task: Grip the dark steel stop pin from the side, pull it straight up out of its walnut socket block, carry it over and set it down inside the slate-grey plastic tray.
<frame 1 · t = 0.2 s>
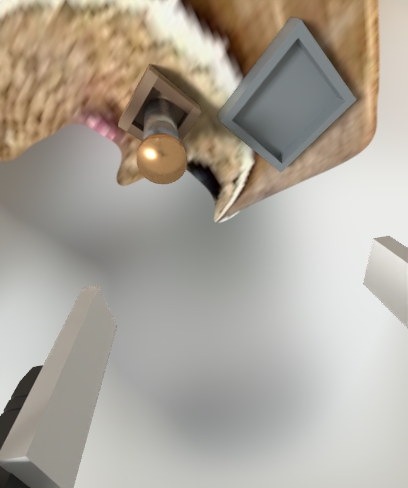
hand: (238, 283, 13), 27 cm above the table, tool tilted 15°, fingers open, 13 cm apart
tray: (281, 104, 33), on the table
stop pin: (159, 114, 31), point 1 cm above the table, touching socket block
socket block: (159, 111, 32), on the table
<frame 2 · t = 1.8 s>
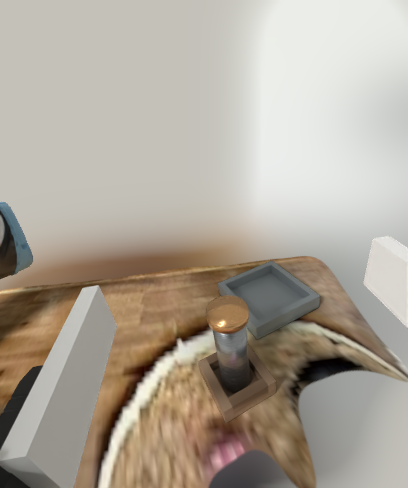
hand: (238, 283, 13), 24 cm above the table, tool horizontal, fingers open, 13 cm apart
tray: (265, 300, 45), on the table
stop pin: (235, 378, 32), point 1 cm above the table, touching socket block
socket block: (236, 382, 33), on the table
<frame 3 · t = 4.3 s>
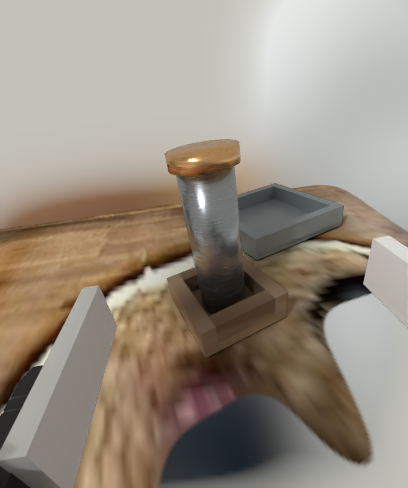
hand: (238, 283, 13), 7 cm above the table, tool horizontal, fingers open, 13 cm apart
tray: (267, 223, 33), on the table
stop pin: (224, 299, 21), point 1 cm above the table, touching socket block
socket block: (225, 306, 21), on the table
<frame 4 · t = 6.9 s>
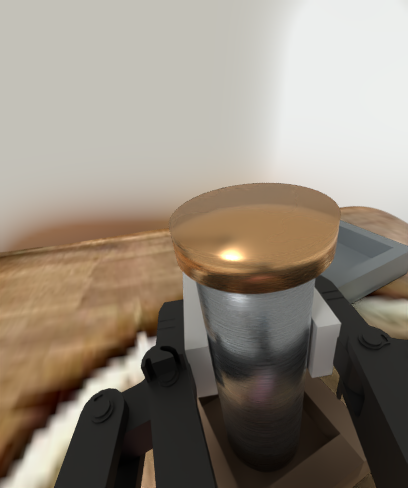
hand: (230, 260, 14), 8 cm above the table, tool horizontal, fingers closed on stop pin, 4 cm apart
tray: (301, 264, 25), on the table
stop pin: (261, 426, 13), point 1 cm above the table, touching gripper, socket block
socket block: (262, 434, 13), on the table
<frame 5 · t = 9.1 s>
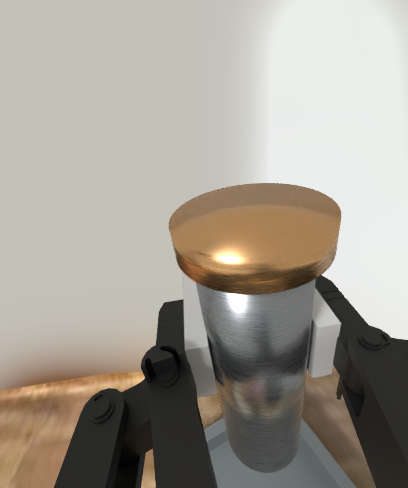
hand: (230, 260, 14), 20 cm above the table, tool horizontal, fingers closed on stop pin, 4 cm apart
stop pin: (261, 427, 13), point 13 cm above the table, touching gripper
when the fingers open (9 cm above the table, at t = 11.3 s): stop pin drops 2 cm, resting on tray.
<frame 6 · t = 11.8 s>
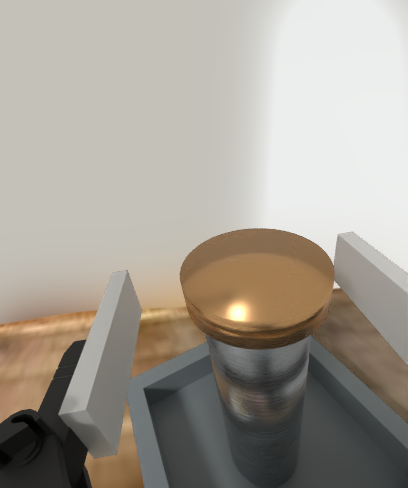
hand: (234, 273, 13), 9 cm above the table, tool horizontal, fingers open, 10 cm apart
tray: (262, 447, 14), on the table
stop pin: (262, 443, 14), point 1 cm above the table, touching tray
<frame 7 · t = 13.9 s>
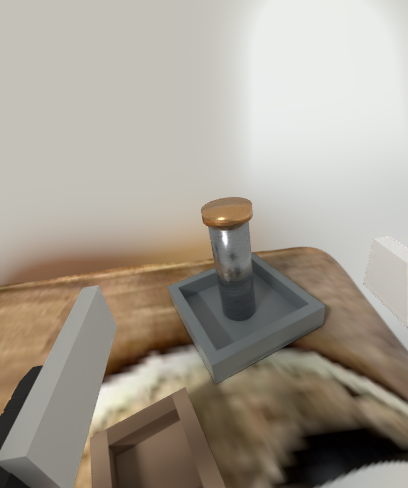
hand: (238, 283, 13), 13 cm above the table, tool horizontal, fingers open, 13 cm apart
tray: (239, 312, 28), on the table
stop pin: (239, 308, 28), point 1 cm above the table, touching tray
socket block: (161, 481, 17), on the table
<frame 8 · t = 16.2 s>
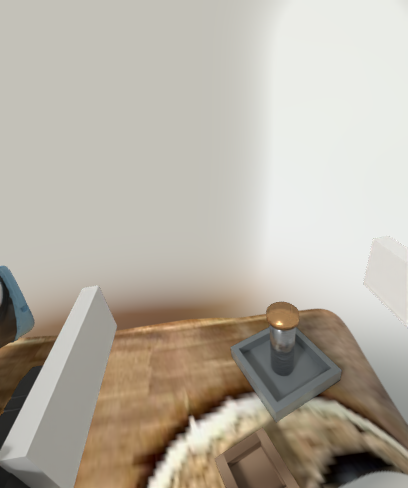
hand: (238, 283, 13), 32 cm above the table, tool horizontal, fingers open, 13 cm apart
tray: (281, 367, 42), on the table
stop pin: (282, 365, 42), point 1 cm above the table, touching tray
socket block: (256, 482, 30), on the table
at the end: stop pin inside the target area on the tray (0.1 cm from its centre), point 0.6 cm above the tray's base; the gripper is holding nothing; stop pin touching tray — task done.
